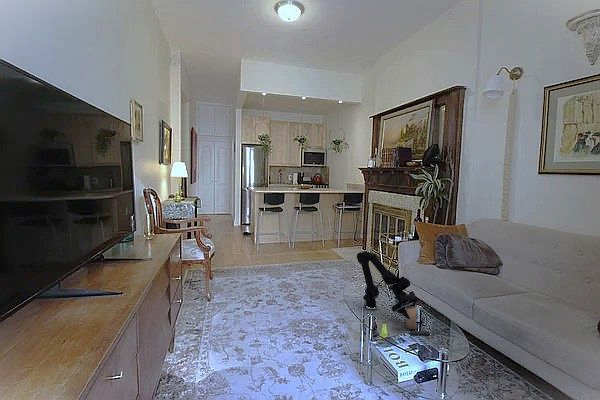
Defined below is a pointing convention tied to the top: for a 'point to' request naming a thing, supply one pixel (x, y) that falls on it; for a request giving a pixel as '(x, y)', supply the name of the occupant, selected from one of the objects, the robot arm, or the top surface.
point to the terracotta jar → (411, 317)
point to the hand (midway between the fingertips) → (412, 317)
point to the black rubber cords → (419, 331)
